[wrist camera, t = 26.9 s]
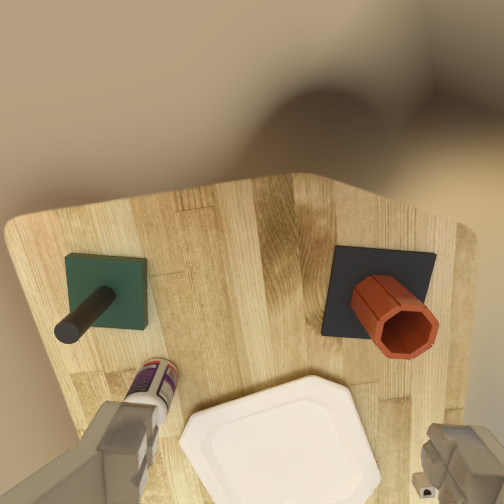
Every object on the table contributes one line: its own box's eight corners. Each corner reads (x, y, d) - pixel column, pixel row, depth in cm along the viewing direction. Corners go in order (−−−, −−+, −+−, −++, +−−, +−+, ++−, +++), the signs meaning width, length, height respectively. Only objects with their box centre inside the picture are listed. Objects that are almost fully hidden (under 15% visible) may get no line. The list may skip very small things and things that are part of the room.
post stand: (71, 252, 38) (11, 286, 29) (146, 258, 39) (112, 293, 29) (77, 319, 41) (24, 370, 32) (147, 324, 41) (116, 376, 32)
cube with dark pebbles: (412, 483, 50) (421, 500, 47) (413, 473, 49) (421, 489, 47) (427, 482, 50) (435, 499, 47) (427, 472, 49) (436, 488, 47)
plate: (169, 412, 45) (165, 424, 43) (336, 357, 43) (341, 367, 41) (236, 525, 52) (235, 541, 50) (383, 483, 50) (389, 498, 48)
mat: (335, 245, 38) (336, 246, 38) (434, 253, 38) (437, 254, 38) (320, 333, 42) (321, 335, 41) (411, 339, 42) (413, 342, 41)
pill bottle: (135, 383, 44) (104, 445, 35) (145, 351, 43) (115, 407, 33) (173, 394, 45) (152, 458, 35) (184, 364, 43) (166, 422, 34)
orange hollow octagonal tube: (355, 273, 39) (381, 303, 31) (406, 276, 39) (444, 307, 31) (347, 318, 40) (370, 357, 33) (396, 321, 41) (429, 361, 33)
